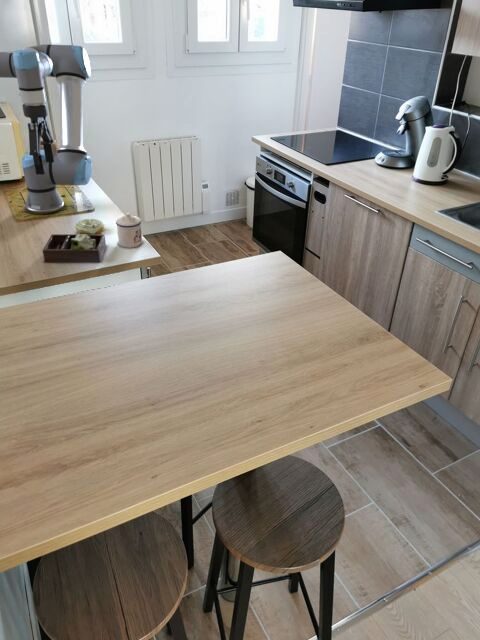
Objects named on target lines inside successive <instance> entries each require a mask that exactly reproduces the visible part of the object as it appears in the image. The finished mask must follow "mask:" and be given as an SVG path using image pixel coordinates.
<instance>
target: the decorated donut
mask: <svg viewBox="0 0 480 640" xmlns="http://www.w3.org/2000/svg"><path fill="white" fill-rule="evenodd" d="M74 228H75V231H76V232H77V233H78V234H79V235H83V234H86V235H100V234H101V233H103V232H104V230H105V224H104V222H103V221H101V220H100V219H96V218H84V219H81V220H78V221H77V222H76V223H75V224H74Z"/></svg>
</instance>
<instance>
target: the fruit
mask: <svg viewBox="0 0 480 640" xmlns="http://www.w3.org/2000/svg"><path fill="white" fill-rule="evenodd" d="M71 241H72V243H71V244H72V247H71V249H96V240H95V239H91V238H90V237H89V236H88V235H86V234H83V235H82V234H80V233H78V235H76V238H71ZM69 243H70V242H69Z"/></svg>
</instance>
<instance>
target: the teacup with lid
mask: <svg viewBox="0 0 480 640" xmlns="http://www.w3.org/2000/svg"><path fill="white" fill-rule="evenodd" d="M115 224H116V228H117V238H118V245H119V246H121V247H122V248H137V247H139V246H141V245H142V243H143V235H142V219H141V218H140V217H139V216H137V215H132V214H131V213H130V212H126V213H125V214H124V215H122V216H120V217H118V218H117V219H116V220H115Z"/></svg>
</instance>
